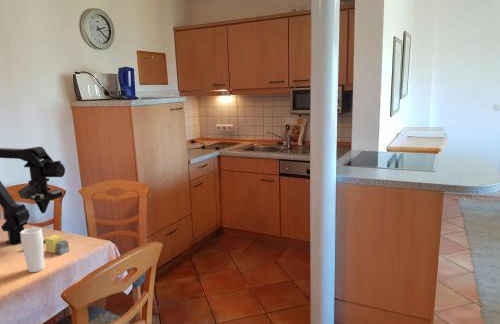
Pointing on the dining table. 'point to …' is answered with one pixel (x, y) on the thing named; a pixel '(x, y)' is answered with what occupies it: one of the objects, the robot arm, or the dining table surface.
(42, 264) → the drinking glass
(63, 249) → the cord fixture
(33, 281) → the dining table surface
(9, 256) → the dining table surface
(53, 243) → the sleeve
